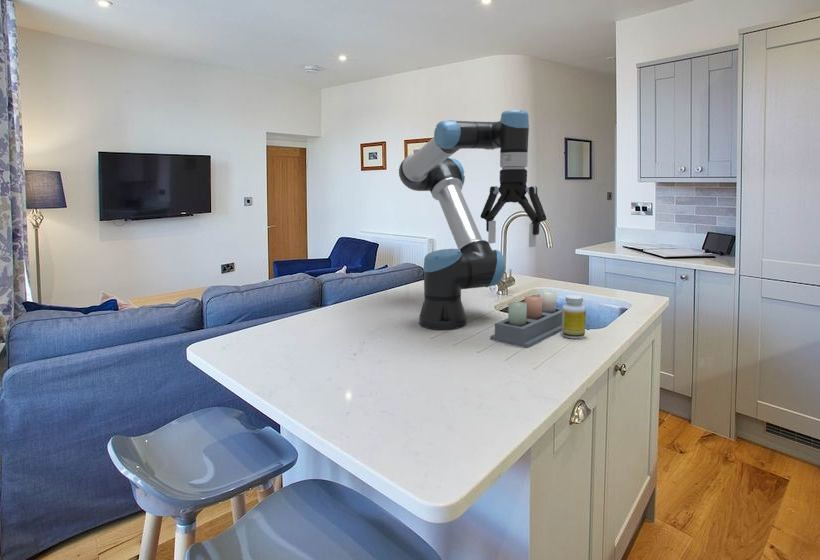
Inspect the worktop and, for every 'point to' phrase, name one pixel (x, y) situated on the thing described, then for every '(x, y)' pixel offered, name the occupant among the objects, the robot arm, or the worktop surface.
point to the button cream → (548, 301)
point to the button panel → (529, 330)
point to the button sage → (517, 313)
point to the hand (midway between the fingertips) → (511, 244)
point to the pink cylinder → (534, 307)
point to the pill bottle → (573, 317)
